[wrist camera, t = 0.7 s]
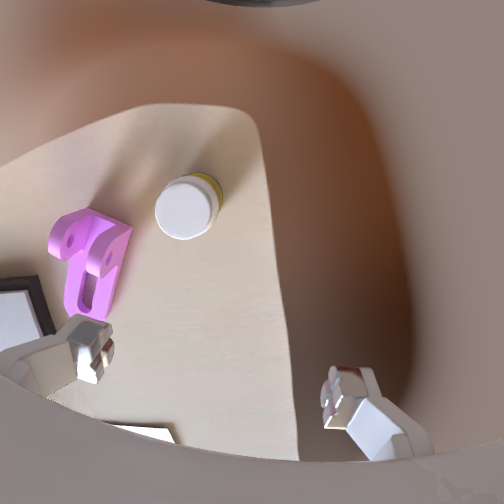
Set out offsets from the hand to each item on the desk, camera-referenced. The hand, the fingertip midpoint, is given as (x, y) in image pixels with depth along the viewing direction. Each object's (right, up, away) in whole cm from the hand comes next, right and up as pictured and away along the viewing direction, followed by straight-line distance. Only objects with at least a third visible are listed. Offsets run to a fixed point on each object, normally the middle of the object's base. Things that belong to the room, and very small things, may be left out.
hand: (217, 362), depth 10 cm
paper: (-17, -33, +30) cm, 48 cm away
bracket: (-16, +2, +20) cm, 26 cm away
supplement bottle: (-4, +9, +19) cm, 21 cm away
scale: (-30, -5, +21) cm, 37 cm away
